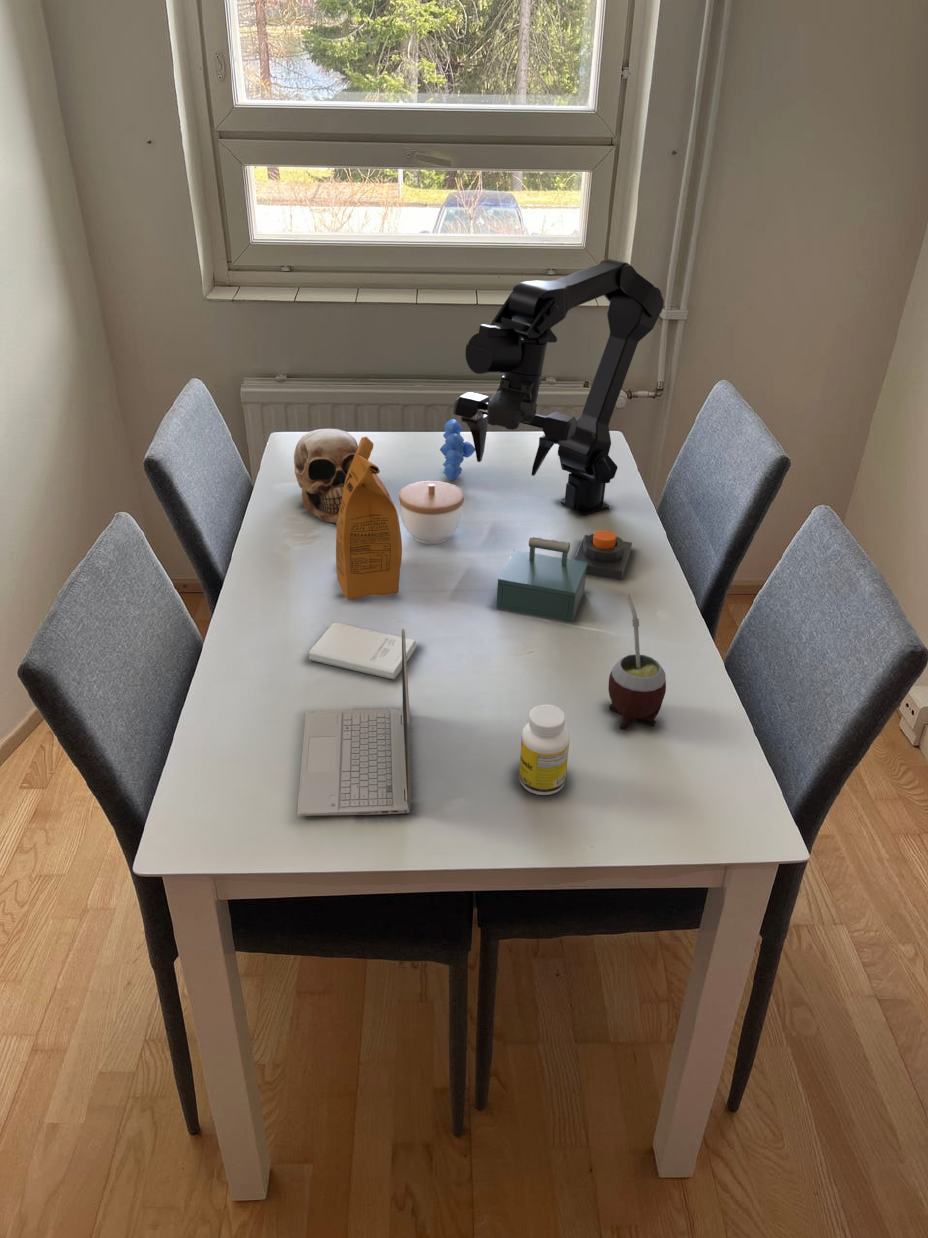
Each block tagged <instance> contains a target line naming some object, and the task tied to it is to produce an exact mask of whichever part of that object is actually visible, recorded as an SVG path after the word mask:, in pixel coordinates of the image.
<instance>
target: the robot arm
mask: <svg viewBox="0 0 928 1238" xmlns="http://www.w3.org/2000/svg"><path fill="white" fill-rule="evenodd" d="M603 296H604V297H605V298H606V300H607V301H608V302H609V304H608V309H607V313H606V315H607V323H608V328H609V335H608V338H607V340H606V343H605V346H604V349H603V351H602V355H601V358H600V361H599V364H598V366H597V369H596V372H595V375H594V377H593V379H592V380H593V381H592V383H591V386H590V389H589V392H588V395H587V397H586V399H585V403H584V407H583V409H582V412H581V414H580V416H579V417H578V418H576V417H575V416H574V415H570V414H566V413H561V412H558V411H552V412H551V413H550V414H549V415H547V416H546V415H542V414H538V413H537V406H538V404H537V401H538V395H539V390H540V385H541V384H542V380H543V378H542V374H543V368H544V362H545V358H546V352H547V346H548V343H557V342H558V337H557V336H556V335H555V333H554V332H553V330H552V328H553V327H555V326H556V325H558V324H559V323H560V322H563V320H564V319H565V318H566V317H567V315H568V312H569V311H570V310H572V309H573V308H576V307H578V306H581V305H583V304H586V303H588V302H591V301H593V300H595V299H598V298H601V297H603ZM664 303H665V301H664V298H663V294H662V292H661V289H660V288H658V287H656V286H655V285H654V284H653V283H651V282H650V281H649V280H647V279H646V278H644V277H643V275H641V274H639V273H638V272H637V271H636V269H635V267H633V266H632V265H631V264H630V263H628V262H626V261H623V260H618V259H613V258H607V259H603V260H601V261H600V262H599V263H597V264H594V265H592V266H589V267H586V268H584V269H581V270H578V271H576V272H573V273H571V274H568V275H566V276H563V277H560V278H558V279H554V280H537V279H536V280H526V281H520V282H519V283H517V284H515V286H514V287H513V288H512V291H511V292H510V294H509V295H508V297H507V298H506V300H505V302H504V304H503V305H502V306H501V308H500V309H499V311H498V312H497V314H496V315H495V317H494V318H493V320H491V323H490V324H491V325H489V324H480V325H479V327H478V332H477V333H475V334H474V335H472V336H471V337H470V339H469V341H468V342H467V344H466V345H465V354H464V355H465V360H466V364H467V366H468V368H469V369H470V370H471V372H473V373H475V374H478V375H484V374H503V376H501V378H500V382H499V386H498V388H497V390H496V392H495V393H494V394H493V395H492V397H491V398H490V397H489V395H485V394H480V393H476V392H472V391H468V392H466V393H463V394H461V395H460V396H458V397H457V398H456V399H455V401H454V407H453V412H452V413H453V415H455V416H459V417H460V421H461V422H462V423H466V425H467V426H468V428H469V430H470V433H471V437H472V441H473V447H474V448H475V451H474V453H475V457H476V462H477V463H481V462H482V460H483V457H484V453H485V446H486V439H487V433H488V425H490V426H498V427H502V428H505V429H507V430H511V431H512V430H513V431H514V430H517V429H518V428H519V427H520V426H519V425H520V424H523V425H527V426H532V427H535V428H539V429H542V432H543V434H542V435H541V436H539V438H538V447H537V450H536V453H535V457H534V461H533V464H532V469H531V476H532V477H534V476H535V475H536V474H537V472H538V471H539V469H540V467H541V466H542V464H543V462H544V460H545V459H546V457H547V455H548V454H549V452H550V450H551V449H552V448H553V446H554V445H558V448H557V456H558V457H559V462H560V468H561V470H562V471H566V472H568V476H567V477H568V478H567V482H566V484H565V495H564V498H561V499H560V500H559V501H560V503H561V504H562V505H564V506H565V507H567V508H569V509H570V510H571V511H573V512H575V513H577V514H578V515H580V516H586V515H589V514H592V513H593V514H594V513H596V512H600V511H603V510H606V509H609V508H610V504H608V503H607V502H606V501H605V491H606V484H610V483H611V480H613V479H614V478H615V477H616V474H617V470H618V465H617V464H616V463H615V461H614V460H613V459H612V458H611V456H610V455H609V454H610V451H611V446H612V439H611V432H610V426H609V424H610V422H611V419H612V416H613V414H614V411H615V407H616V405H617V403H618V401H619V400H618V399H619V397H620V394H621V391H622V389H623V385H624V383H625V380H626V377H627V376H628V372H629V369H630V366H631V364H632V362H633V361H632V360H633V358H634V355H635V352H636V349H637V347H638V345H639V342H640V341H642V339H644V338H645V337H646V336H647V335H648V334H649V333H651V331H652V330H653V329H654V328H655V325H656V323H657V322H658V319H659V317H660V315H661V313H662V311H663V309H664V305H665V304H664Z"/></svg>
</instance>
